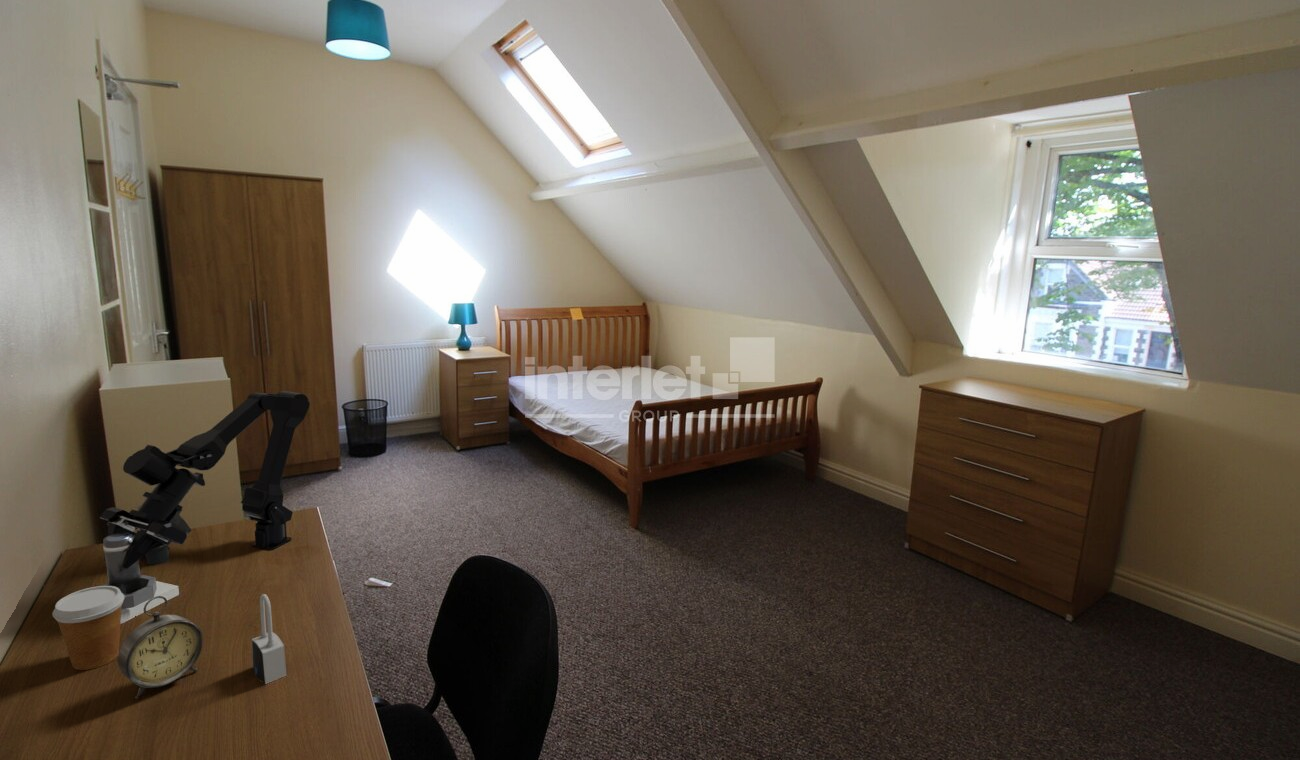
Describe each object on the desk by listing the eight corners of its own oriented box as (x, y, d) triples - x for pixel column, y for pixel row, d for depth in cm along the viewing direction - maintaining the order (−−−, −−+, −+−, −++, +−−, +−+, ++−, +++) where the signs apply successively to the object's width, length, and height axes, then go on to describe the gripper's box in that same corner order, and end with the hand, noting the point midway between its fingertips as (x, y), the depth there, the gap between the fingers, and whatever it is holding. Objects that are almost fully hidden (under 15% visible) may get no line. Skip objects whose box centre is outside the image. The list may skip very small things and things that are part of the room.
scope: (166, 494, 152) (180, 505, 146) (171, 547, 154) (185, 560, 148) (123, 503, 145) (136, 515, 139) (129, 558, 148) (142, 572, 142)
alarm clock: (131, 707, 101) (121, 616, 98) (117, 694, 104) (107, 605, 101) (207, 672, 110) (200, 588, 107) (193, 661, 113) (185, 578, 110)
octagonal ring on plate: (143, 586, 136) (141, 567, 135) (179, 594, 134) (177, 575, 133) (70, 620, 123) (67, 599, 122) (108, 630, 121) (106, 608, 120)
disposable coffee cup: (81, 682, 106) (73, 618, 104) (47, 667, 109) (38, 604, 107) (142, 651, 115) (136, 591, 113) (109, 638, 118) (102, 579, 116)
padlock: (249, 668, 112) (244, 592, 109) (275, 658, 115) (271, 583, 112) (262, 686, 108) (257, 607, 105) (289, 675, 111) (284, 598, 108)
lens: (142, 584, 132) (136, 528, 129) (142, 595, 128) (136, 538, 125) (110, 591, 128) (103, 534, 126) (109, 603, 124) (101, 544, 122)
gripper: (226, 518, 137) (179, 588, 129) (168, 503, 143) (119, 568, 135) (186, 496, 128) (133, 569, 120) (126, 481, 134) (71, 550, 126)
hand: (115, 565), depth 125 cm, fingers open, 5 cm apart
